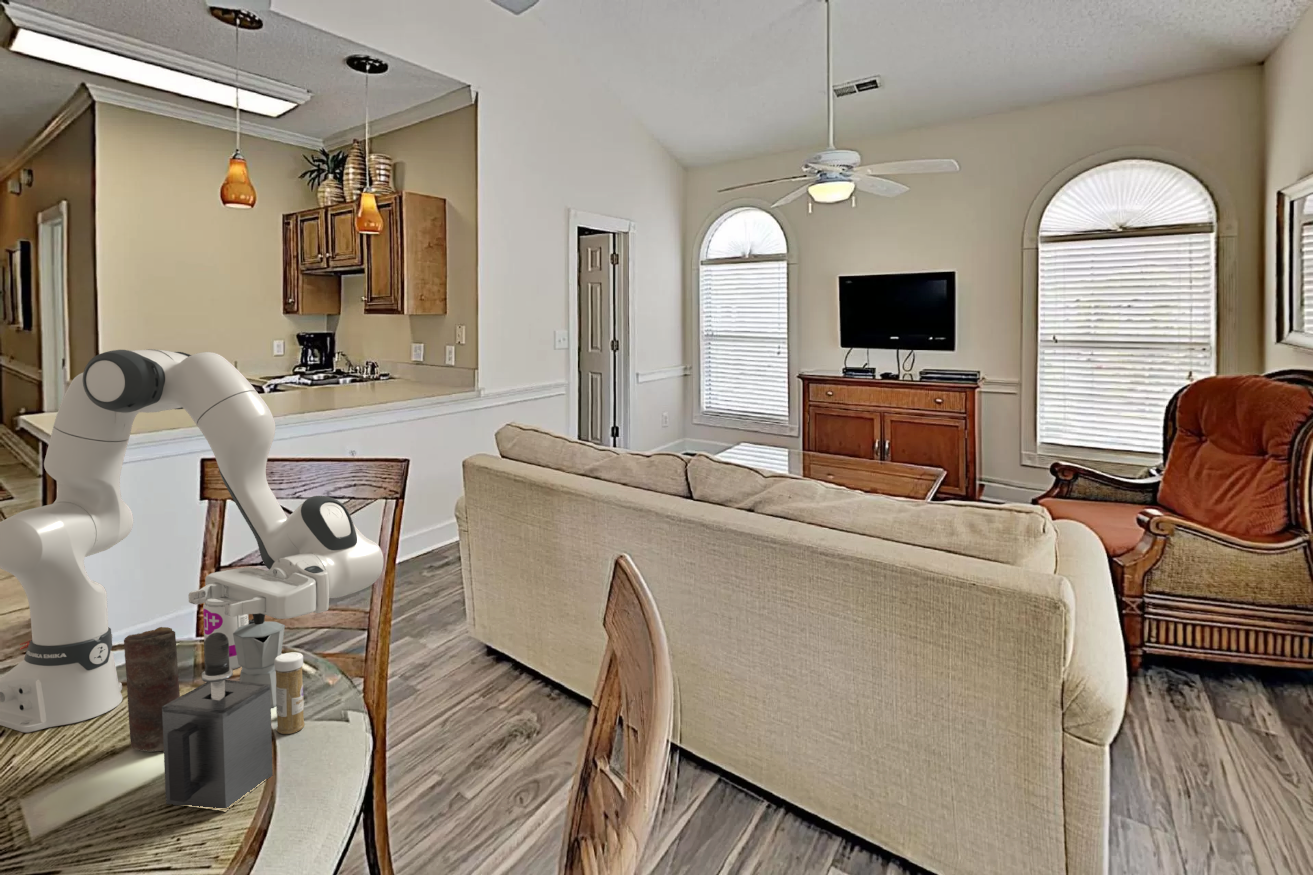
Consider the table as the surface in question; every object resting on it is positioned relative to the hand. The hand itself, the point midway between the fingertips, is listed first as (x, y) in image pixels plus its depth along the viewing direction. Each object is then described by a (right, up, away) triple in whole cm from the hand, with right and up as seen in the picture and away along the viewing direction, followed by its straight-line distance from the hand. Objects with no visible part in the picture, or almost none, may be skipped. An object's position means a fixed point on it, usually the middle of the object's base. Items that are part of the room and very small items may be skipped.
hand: (208, 604), depth 110 cm
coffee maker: (-10, -26, +34) cm, 44 cm away
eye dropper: (0, -26, +3) cm, 27 cm away
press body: (-1, -29, +2) cm, 29 cm away
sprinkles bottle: (+1, -28, +23) cm, 36 cm away
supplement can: (-26, -24, +49) cm, 61 cm away
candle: (-18, -28, +16) cm, 37 cm away
